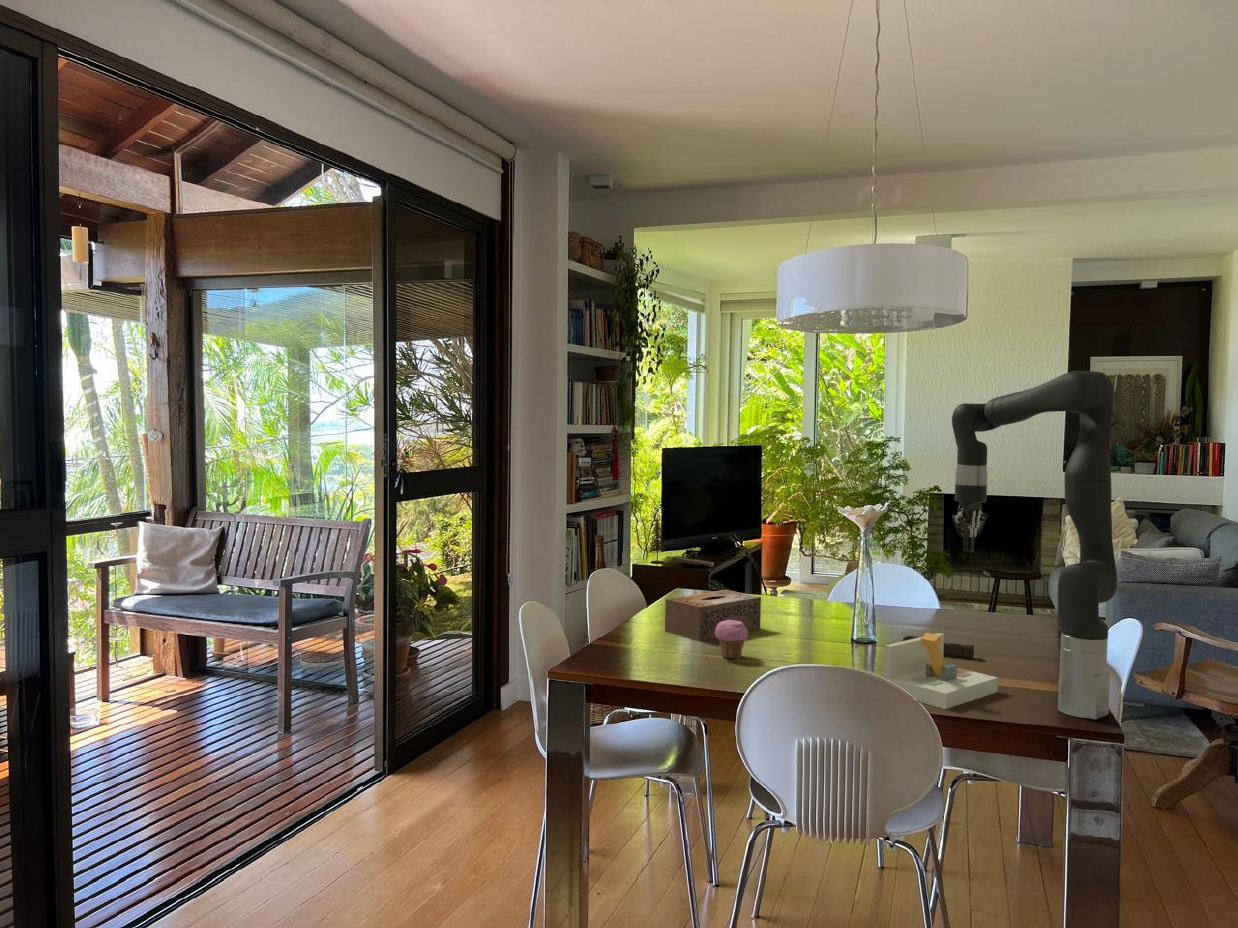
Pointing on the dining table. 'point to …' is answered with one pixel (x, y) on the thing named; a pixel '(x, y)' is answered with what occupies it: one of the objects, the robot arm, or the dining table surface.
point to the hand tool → (953, 649)
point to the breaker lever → (934, 651)
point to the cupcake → (731, 637)
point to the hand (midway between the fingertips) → (968, 551)
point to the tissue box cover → (710, 613)
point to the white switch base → (933, 676)
